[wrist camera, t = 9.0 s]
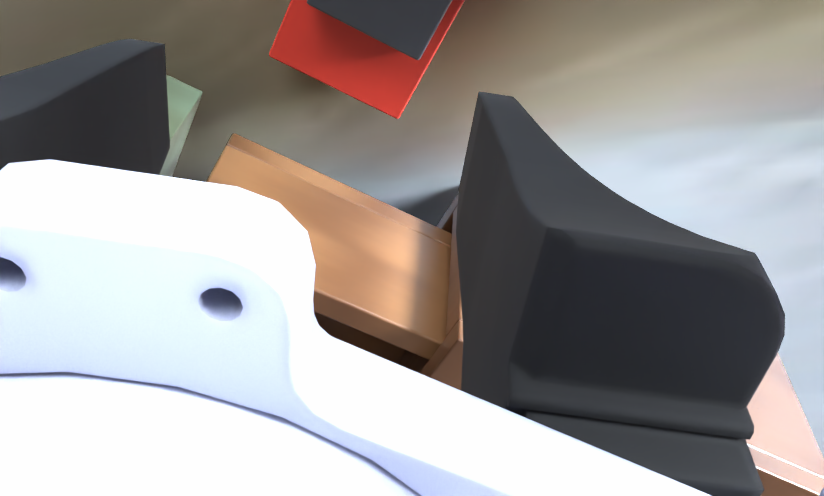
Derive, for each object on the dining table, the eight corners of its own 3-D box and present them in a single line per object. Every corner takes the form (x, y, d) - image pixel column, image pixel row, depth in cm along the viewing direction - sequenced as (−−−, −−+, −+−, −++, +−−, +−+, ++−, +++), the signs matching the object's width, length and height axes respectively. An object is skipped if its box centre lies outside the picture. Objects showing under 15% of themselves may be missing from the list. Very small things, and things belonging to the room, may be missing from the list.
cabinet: (326, 393, 33) (289, 559, 27) (464, 182, 27) (458, 339, 20) (584, 495, 36) (605, 667, 30) (768, 328, 29) (845, 506, 23)
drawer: (-40, 255, 29) (-144, 370, 24) (7, -1, 23) (-119, 85, 18) (369, 416, 33) (349, 545, 28) (503, 232, 27) (507, 356, 22)
